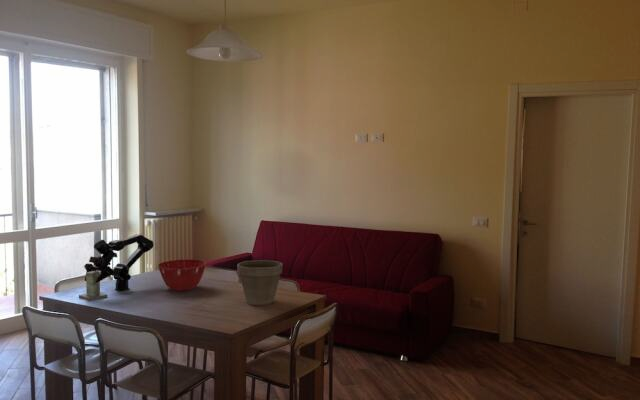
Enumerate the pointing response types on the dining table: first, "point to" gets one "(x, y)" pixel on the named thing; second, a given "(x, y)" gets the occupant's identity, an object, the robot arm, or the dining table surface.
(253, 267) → the plant pot
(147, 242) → the robot arm
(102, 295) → the base board
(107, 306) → the dining table surface
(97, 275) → the green post
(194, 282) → the mixing bowl
